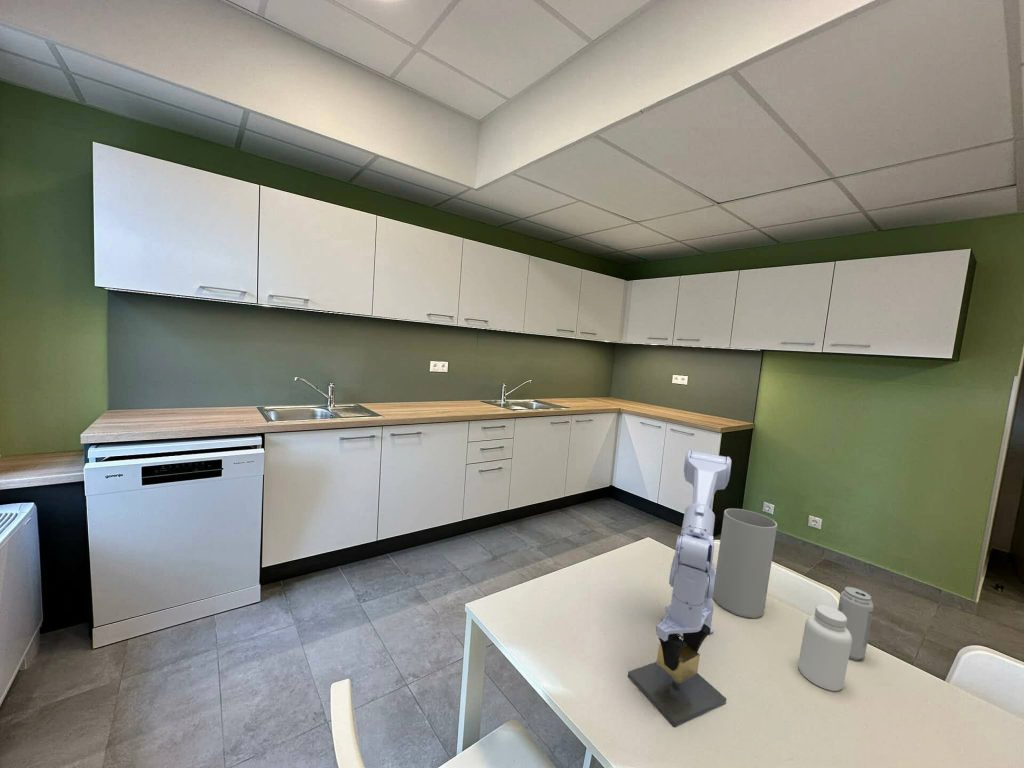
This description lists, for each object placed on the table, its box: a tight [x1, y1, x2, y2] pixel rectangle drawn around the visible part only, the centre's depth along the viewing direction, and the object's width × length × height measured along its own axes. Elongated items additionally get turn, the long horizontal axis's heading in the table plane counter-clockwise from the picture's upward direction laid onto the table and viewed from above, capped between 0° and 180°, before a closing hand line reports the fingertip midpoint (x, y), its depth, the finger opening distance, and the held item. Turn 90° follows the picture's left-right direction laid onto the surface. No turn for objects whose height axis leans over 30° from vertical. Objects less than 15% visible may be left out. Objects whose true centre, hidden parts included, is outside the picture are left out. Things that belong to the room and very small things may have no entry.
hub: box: [656, 643, 701, 683], centre depth 80 cm, size 5×5×4 cm
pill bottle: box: [797, 604, 852, 692], centre depth 87 cm, size 8×8×15 cm
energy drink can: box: [837, 586, 874, 661], centre depth 96 cm, size 6×6×15 cm
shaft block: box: [627, 661, 727, 728], centre depth 80 cm, size 14×12×4 cm
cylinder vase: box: [712, 508, 778, 619], centre depth 111 cm, size 12×12×25 cm
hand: (679, 662), depth 80 cm, fingers closed on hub, 5 cm apart
